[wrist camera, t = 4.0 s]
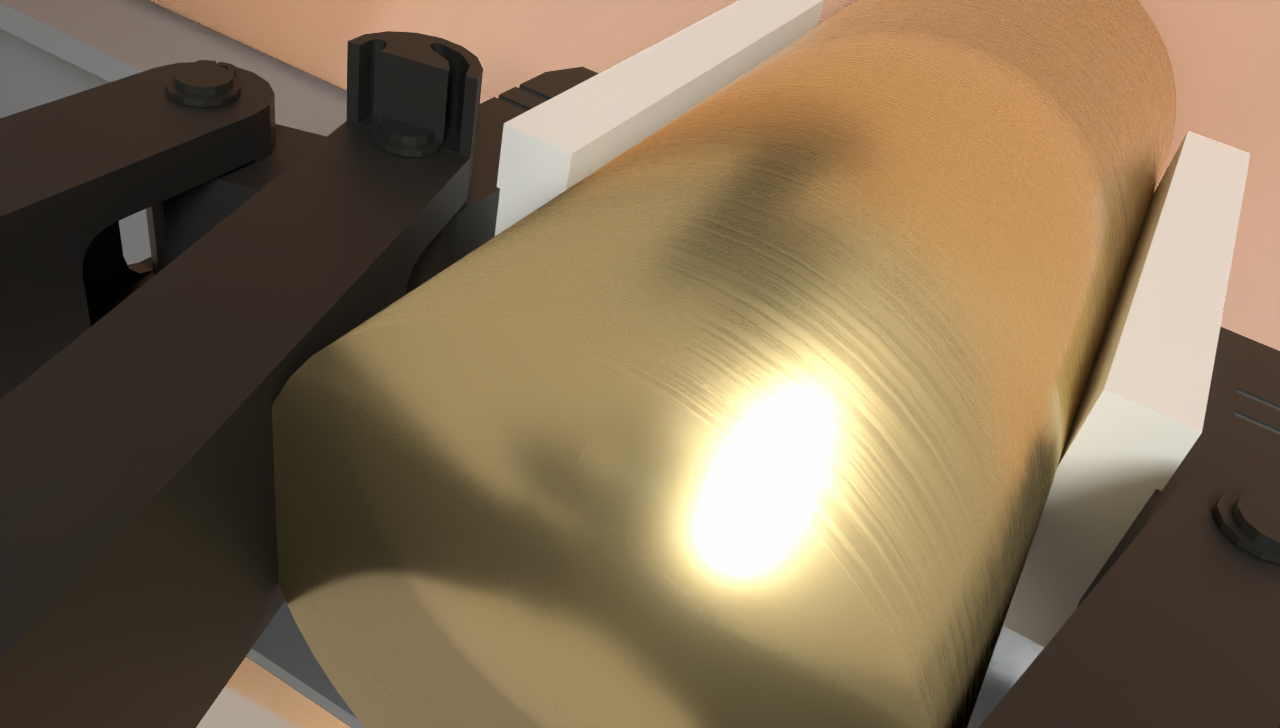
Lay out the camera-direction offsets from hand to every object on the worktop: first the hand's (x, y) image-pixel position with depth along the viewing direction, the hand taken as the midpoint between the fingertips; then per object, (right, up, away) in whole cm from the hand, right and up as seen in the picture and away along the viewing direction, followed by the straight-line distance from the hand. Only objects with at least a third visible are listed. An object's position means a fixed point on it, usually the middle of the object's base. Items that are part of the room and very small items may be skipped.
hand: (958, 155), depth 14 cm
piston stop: (+1, +1, +1) cm, 2 cm away
